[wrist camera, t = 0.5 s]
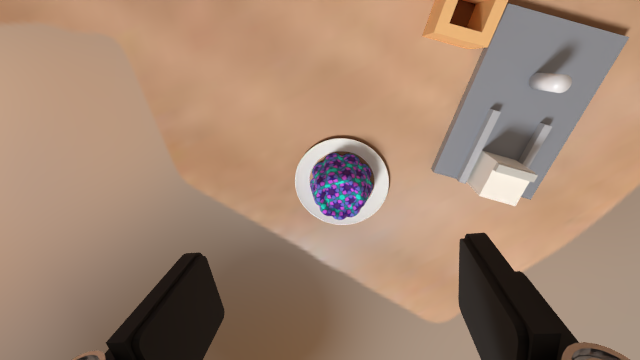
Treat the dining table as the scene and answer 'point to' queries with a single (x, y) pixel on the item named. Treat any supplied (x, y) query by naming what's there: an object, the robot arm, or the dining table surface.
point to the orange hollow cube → (478, 29)
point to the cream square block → (500, 178)
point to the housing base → (527, 92)
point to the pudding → (341, 182)
